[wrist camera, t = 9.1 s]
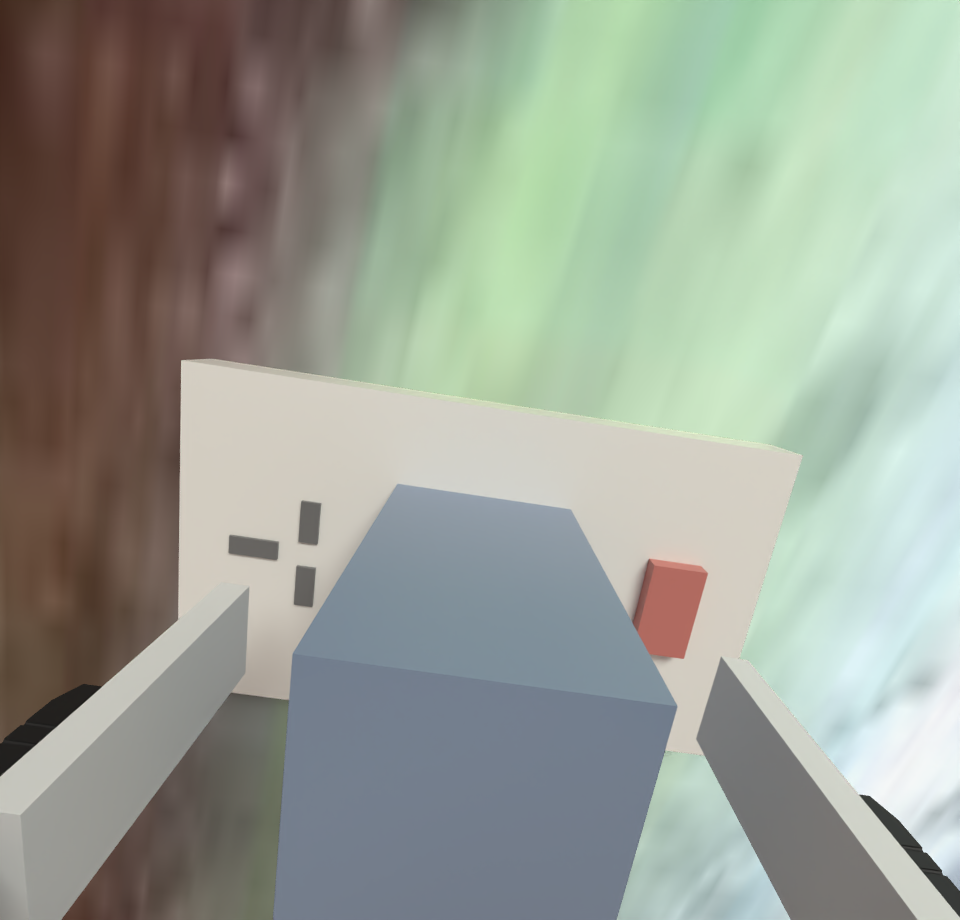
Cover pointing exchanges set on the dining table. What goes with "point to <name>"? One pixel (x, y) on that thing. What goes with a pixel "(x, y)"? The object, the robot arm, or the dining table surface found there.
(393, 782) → the plug
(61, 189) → the dining table surface
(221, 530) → the socket plate
